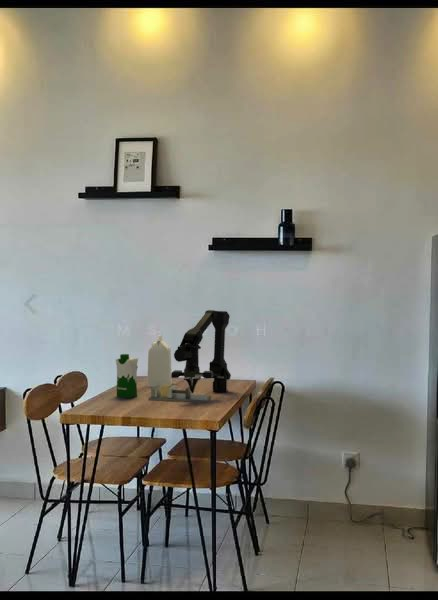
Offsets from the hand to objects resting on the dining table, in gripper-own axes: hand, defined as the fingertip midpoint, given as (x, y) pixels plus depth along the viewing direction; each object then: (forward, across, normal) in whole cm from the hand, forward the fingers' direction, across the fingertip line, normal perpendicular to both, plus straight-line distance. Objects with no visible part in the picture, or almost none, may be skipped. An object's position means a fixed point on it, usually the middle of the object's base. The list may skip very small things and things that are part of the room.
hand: (192, 393), depth 284 cm
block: (+2, -12, 0) cm, 13 cm away
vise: (+3, -6, 0) cm, 6 cm away
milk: (+3, -24, +34) cm, 42 cm away
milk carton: (+3, -31, 0) cm, 32 cm away
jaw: (+2, -6, 0) cm, 6 cm away
